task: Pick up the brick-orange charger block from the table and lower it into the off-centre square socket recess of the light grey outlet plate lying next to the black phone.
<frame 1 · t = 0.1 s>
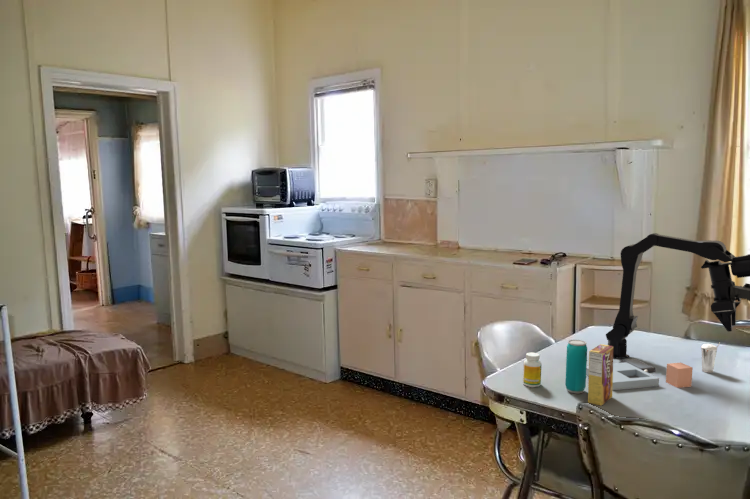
hand: (731, 328, 193), 15 cm above the table, tool pointing down, fingers open, 9 cm apart
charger: (678, 384, 187), on the table
off-white rounded rod: (643, 374, 196), on the table
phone: (637, 367, 203), on the table
candy box: (599, 400, 174), on the table
outlet plate: (619, 379, 191), on the table
milkshake: (708, 372, 199), on the table
supplement bottle: (531, 385, 187), on the table
beverage can: (575, 391, 181), on the table
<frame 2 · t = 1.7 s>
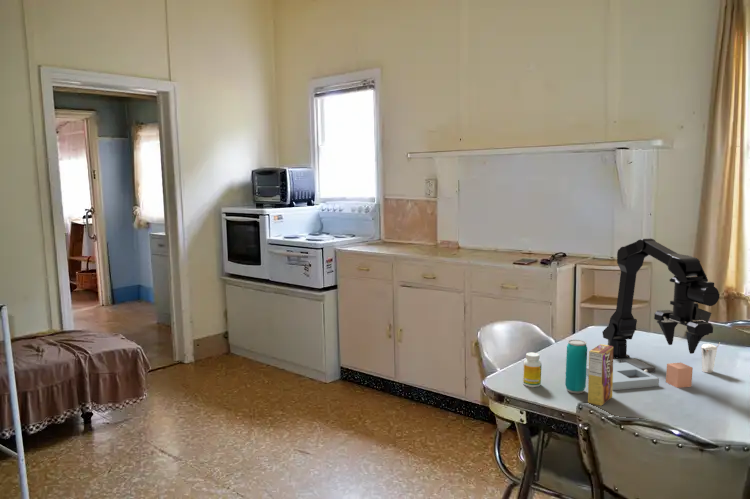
hand: (680, 349, 186), 11 cm above the table, tool pointing down, fingers open, 9 cm apart
nothing on the table moved.
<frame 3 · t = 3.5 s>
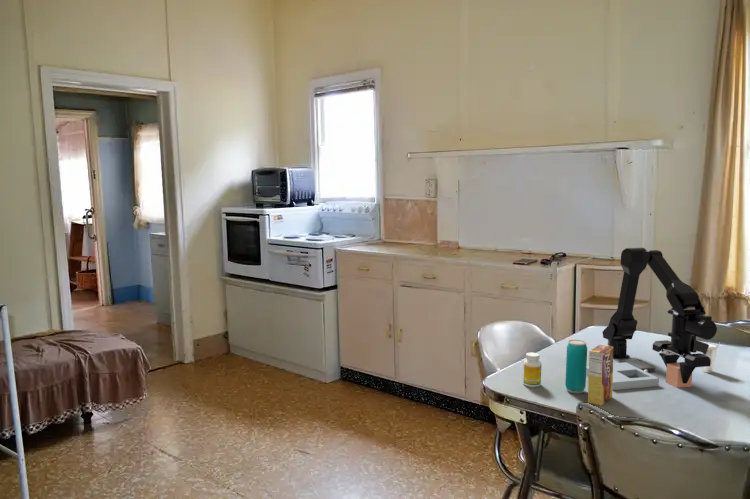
hand: (678, 380, 187), 1 cm above the table, tool pointing down, fingers closed on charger, 5 cm apart
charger: (678, 384, 187), on the table, touching gripper
everything else where it was.
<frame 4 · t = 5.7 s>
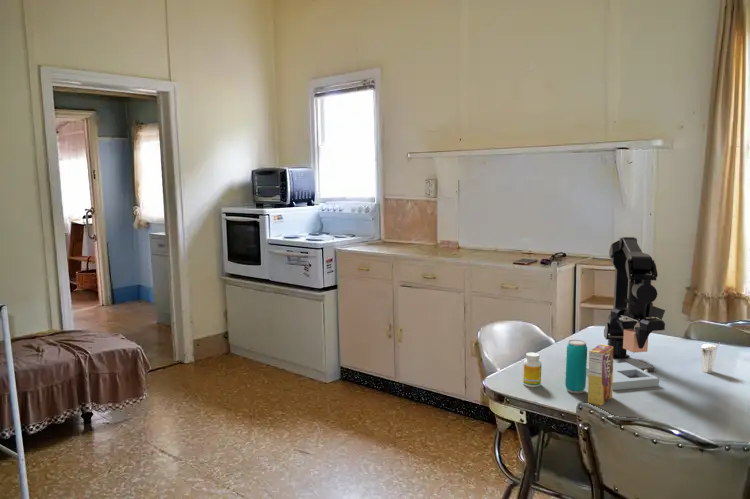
hand: (635, 345, 188), 11 cm above the table, tool pointing down, fingers closed on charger, 5 cm apart
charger: (634, 349, 188), point 10 cm above the table, touching gripper
everything else where it was.
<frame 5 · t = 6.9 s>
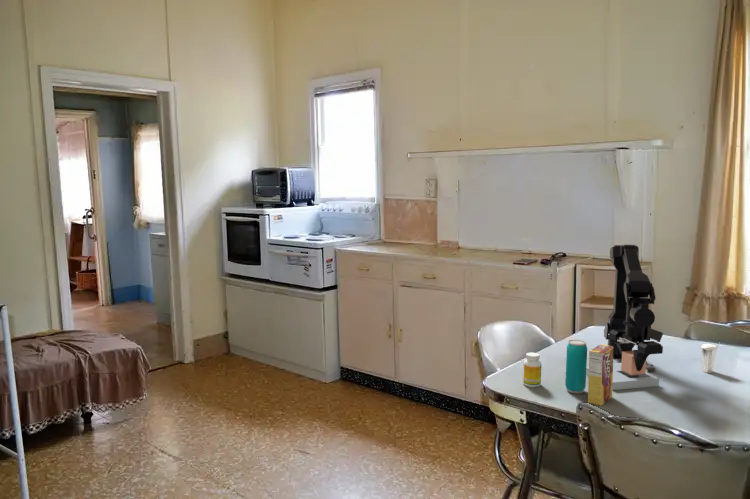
hand: (633, 368, 189), 4 cm above the table, tool pointing down, fingers closed on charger, 5 cm apart
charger: (633, 371, 189), point 3 cm above the table, touching gripper
everything else where it was.
when the fingers open (3 cm above the table, at t = 7.9 s): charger drops 2 cm, resting on outlet plate.
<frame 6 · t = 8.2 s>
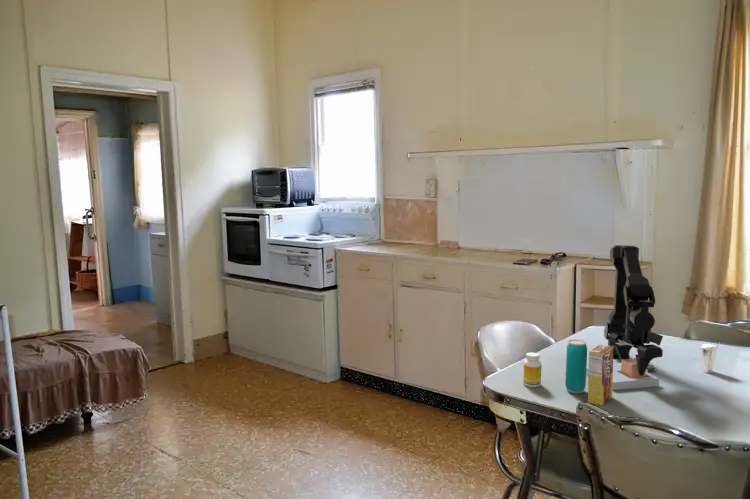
hand: (633, 371, 189), 3 cm above the table, tool pointing down, fingers open, 8 cm apart
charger: (632, 379, 190), resting on outlet plate
everything else where it was.
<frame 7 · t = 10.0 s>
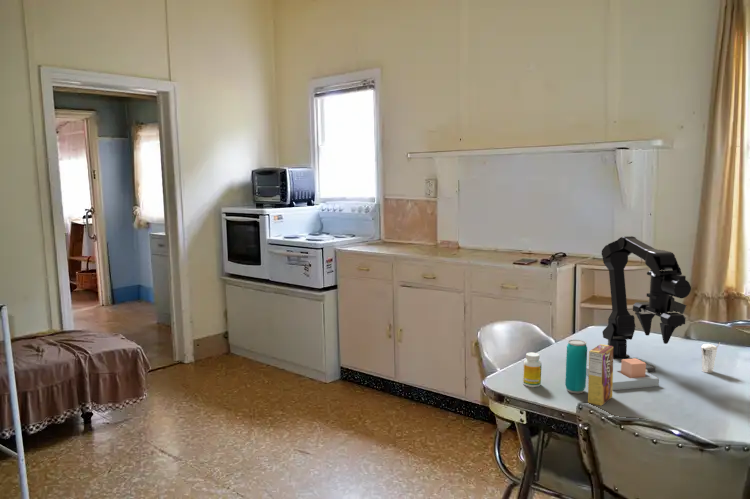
hand: (656, 339, 194), 12 cm above the table, tool pointing down, fingers open, 9 cm apart
nothing on the table moved.
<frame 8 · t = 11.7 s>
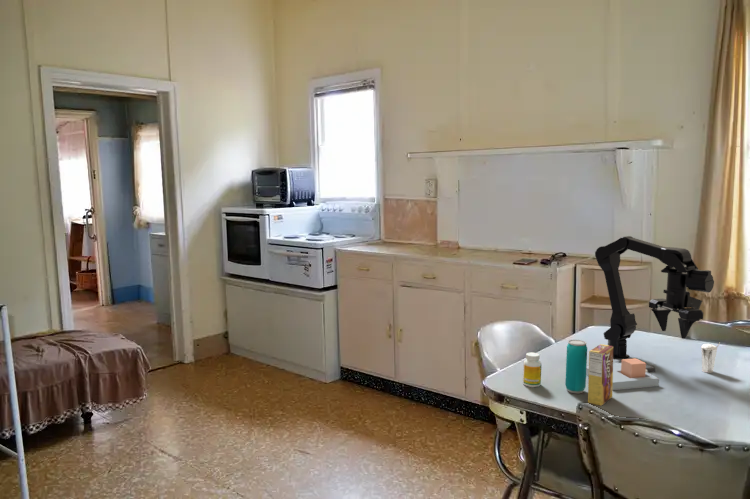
hand: (673, 334, 199), 12 cm above the table, tool pointing down, fingers open, 9 cm apart
nothing on the table moved.
at the end: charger 0.0 cm from the target spot on the outlet plate, point 0.4 cm above the outlet plate's base; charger tilted 0°; the gripper is holding nothing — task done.
